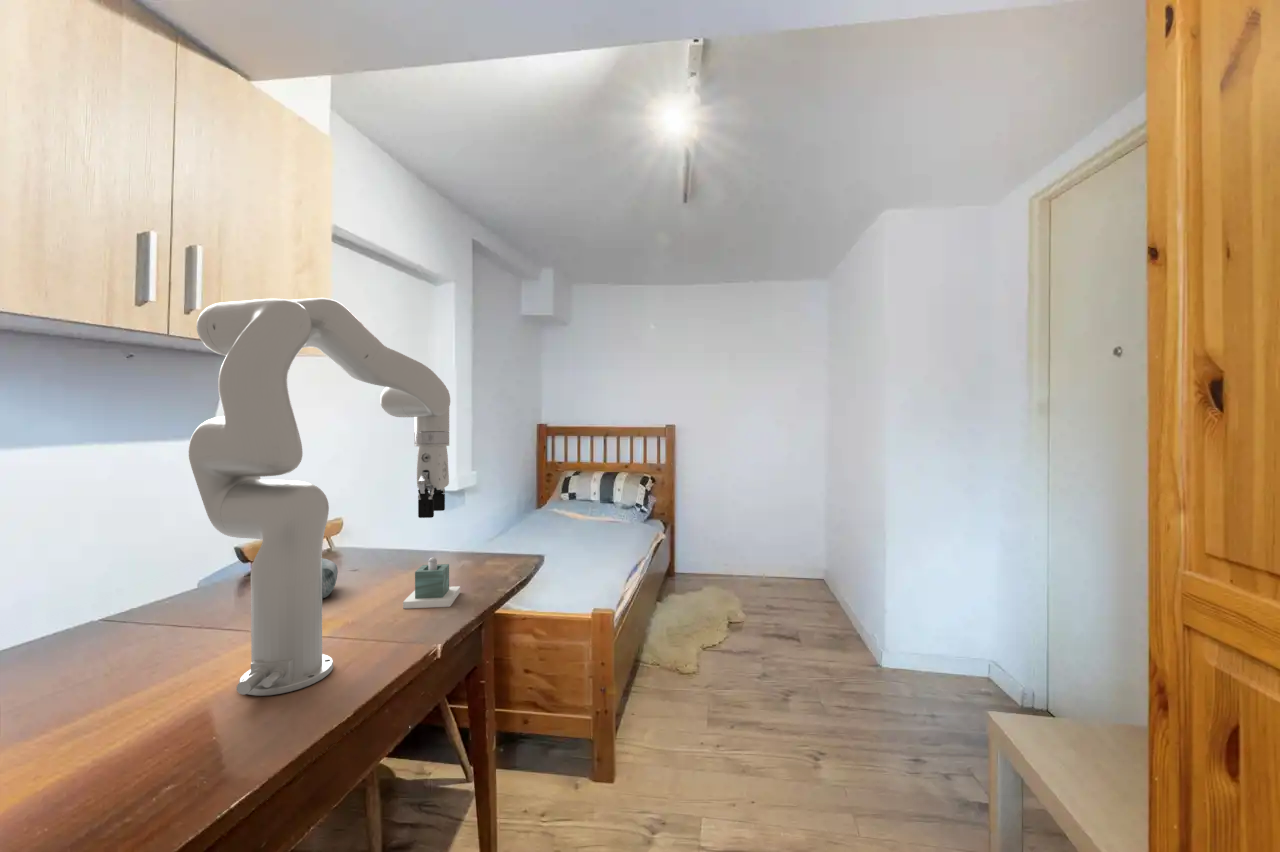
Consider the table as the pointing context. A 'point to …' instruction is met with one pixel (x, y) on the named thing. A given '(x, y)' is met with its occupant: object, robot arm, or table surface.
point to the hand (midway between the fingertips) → (432, 513)
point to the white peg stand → (431, 602)
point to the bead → (432, 581)
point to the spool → (328, 576)
